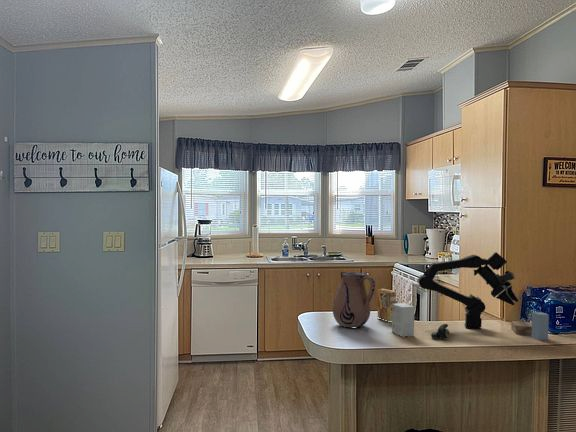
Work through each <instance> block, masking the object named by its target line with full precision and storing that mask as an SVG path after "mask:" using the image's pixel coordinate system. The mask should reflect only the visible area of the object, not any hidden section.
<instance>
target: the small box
mask: <svg viewBox="0 0 576 432" xmlns="http://www.w3.org/2000/svg"><path fill="white" fill-rule="evenodd" d="M392 332H394V333H396V334H395V335H397V334H398V335H397V336H399V335H400V336H399V337H401V336H402V337H401V338H406V337H405V336H408V337H414V336H415V306H413V305H411V304H407V303H404V302H402V303H396V304H393V306H392V323H391V333H392ZM394 333H393V334H394Z"/></svg>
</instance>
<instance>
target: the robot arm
mask: <svg viewBox="0 0 576 432" xmlns="http://www.w3.org/2000/svg"><path fill="white" fill-rule="evenodd" d="M506 264H508V261H507V260H506V259H505V258H504V257H503V256H501V255H500V254H499V253H498V252H497V251H495V252H493V254H492V255H491V256H490V257H488V258H487V259H486V258H482V257H480V256H479V255H476V254H471V255H468V256H465V257H462V258H459V259H453V260H447V261H441V262H432V263H431V264H430V266H429V267H428V268H427V269H426V271H424V273H423V274H422V275H420V276H419V277H418V278H417V282H418V285H419V286H420V288H422V289H425V290H428V291H431V292H432V291H434V292H437V293H438V294H441V295H443V296H446V297H448V298H450V299H453V300H454V301H456V302H459V303H461V304H463V305H465V307H464V311H465V314H464V317H465V318H464V321H465V322H464V327H465V329H472V330H473V329H474V330H481V329H482V318H481V315H482V313H483V312H485V310H486V304H485V302H483V300H482V298H480V297H479V296H475V295H473V294H471V293H470V295H465V294H462V293H460V292H458V291H456V290H454V289H451V288H449V287H447V286H444V285H442V284H440V283H438V282H437V281H435V280H434V279H435V276H436V275H437V274H438V273H439V272H442V271H449V270H455V269H456V270H457V269H461V268H468V269H473V276H477V275H479V276H480V277H481V279H483V280H484V281H485V284H486V285H488V286H490V287H491V289H492V290H491V292H490V295H491V296H492V297H493V298H495V299H498V300H500V301H502V302H504V303H507V304H509V305H511V306H515V304H516V303H518V302H519V299H518V298H517V296H516V294H515V292H514V290H513V286H514V285H513V282H511V281H512V280H515V279H516V277H515V275H514V274H515V273H513V271H510V270H506V271H505V272H504V274H501V275H500V274H499V273H495V272H494V271H495V270H496V271H499V269H502V268H503V267H504V266H505V265H506ZM493 270H494V271H493Z"/></svg>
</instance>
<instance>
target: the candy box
mask: <svg viewBox="0 0 576 432" xmlns="http://www.w3.org/2000/svg"><path fill="white" fill-rule="evenodd" d="M393 304H397V291H396V290H391V289H387V288H379V289H377V318H378V317H379V318H381V319H384V320H387V321H392V306H393Z"/></svg>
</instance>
